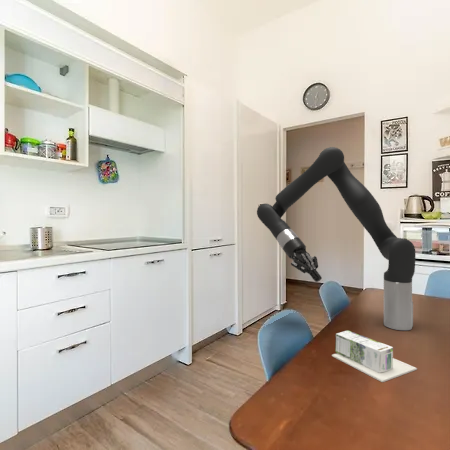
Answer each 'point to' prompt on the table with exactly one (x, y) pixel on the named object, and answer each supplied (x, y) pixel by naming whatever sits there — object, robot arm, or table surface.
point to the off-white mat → (396, 371)
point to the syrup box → (364, 351)
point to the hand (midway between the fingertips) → (319, 280)
